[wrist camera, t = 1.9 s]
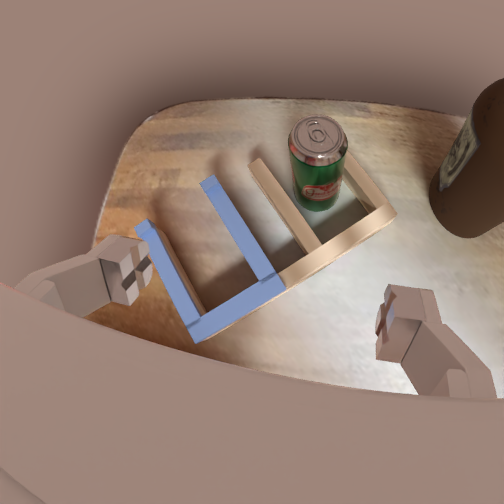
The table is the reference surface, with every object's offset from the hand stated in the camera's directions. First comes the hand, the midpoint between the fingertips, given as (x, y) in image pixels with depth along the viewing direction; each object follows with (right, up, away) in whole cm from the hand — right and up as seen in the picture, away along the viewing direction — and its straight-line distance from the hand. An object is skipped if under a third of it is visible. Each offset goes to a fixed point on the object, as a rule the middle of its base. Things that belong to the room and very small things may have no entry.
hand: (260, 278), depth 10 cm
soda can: (+7, +8, +26) cm, 28 cm away
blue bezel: (-5, 0, +23) cm, 24 cm away
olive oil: (+25, +7, +23) cm, 35 cm away
